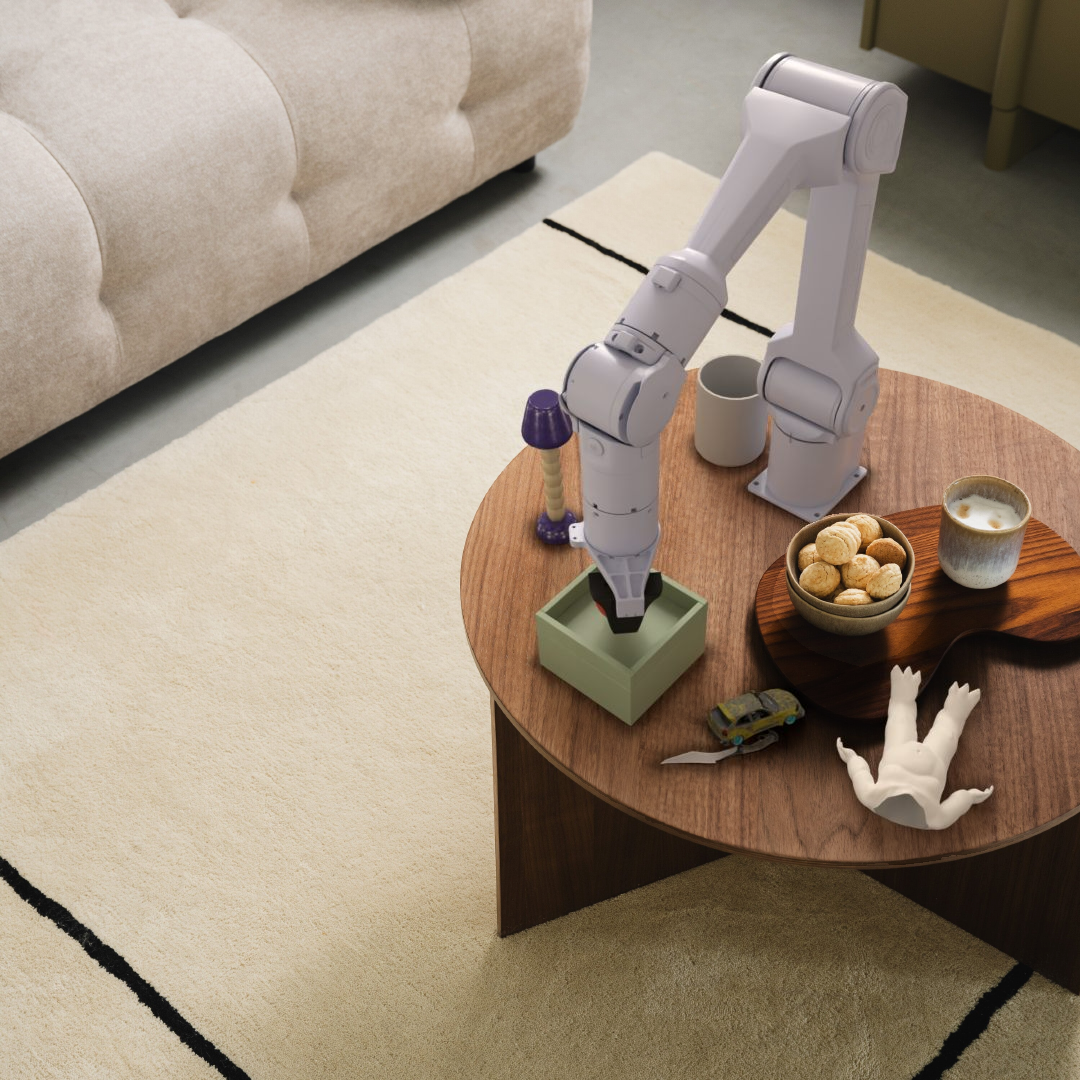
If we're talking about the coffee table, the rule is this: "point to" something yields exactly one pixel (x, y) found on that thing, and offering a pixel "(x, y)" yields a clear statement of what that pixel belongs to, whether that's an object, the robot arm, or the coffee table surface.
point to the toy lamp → (549, 460)
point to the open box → (621, 645)
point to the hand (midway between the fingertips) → (622, 606)
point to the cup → (730, 411)
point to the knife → (712, 757)
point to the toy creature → (916, 760)
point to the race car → (752, 715)
